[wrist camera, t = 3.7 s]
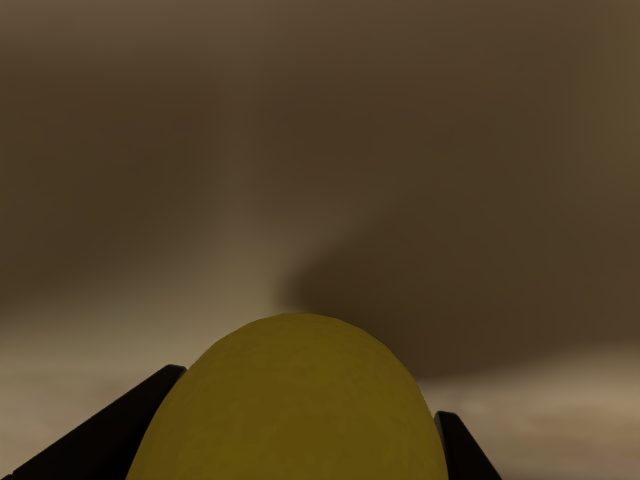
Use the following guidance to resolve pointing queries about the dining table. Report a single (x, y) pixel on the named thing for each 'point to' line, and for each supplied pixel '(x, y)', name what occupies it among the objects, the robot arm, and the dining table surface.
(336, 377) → the lemon
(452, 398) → the dining table surface
